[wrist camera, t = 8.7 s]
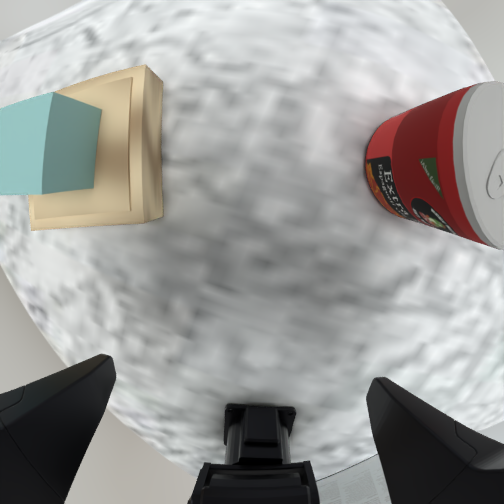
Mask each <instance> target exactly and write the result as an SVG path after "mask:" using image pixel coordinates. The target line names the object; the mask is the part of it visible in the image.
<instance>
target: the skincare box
mask: <svg viewBox="0 0 504 504" xmlns="http://www.w3.org/2000/svg"><path fill="white" fill-rule="evenodd" d="M316 484H317V488H318V492H319V498H320V504H391V500H390V496H389V492H388V488H387V484H386V480H385V477H384V473H383V469H382V466H381V462H380V459H379V455H378V454H377V455H375V456H373V457H371V458H369V459H367V460H365V461H363V462H361V463H359V464H357V465H355V466H353V467H351V468H348V469H346V470H344V471H342V472H339V473H337V474H335V475H332V476H330V477H327V478H325V479H322V480H319V481H317V482H316Z"/></svg>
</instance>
